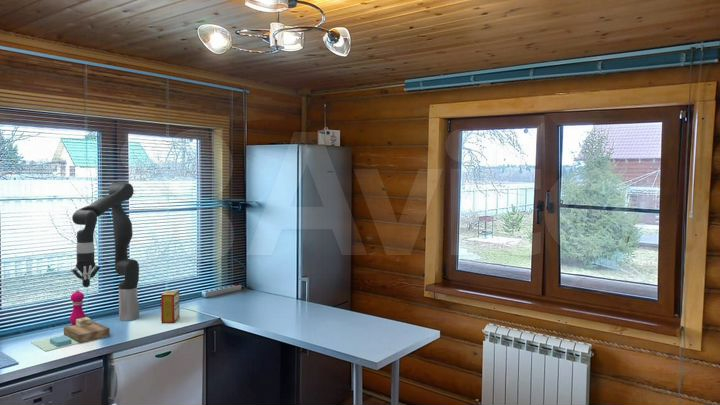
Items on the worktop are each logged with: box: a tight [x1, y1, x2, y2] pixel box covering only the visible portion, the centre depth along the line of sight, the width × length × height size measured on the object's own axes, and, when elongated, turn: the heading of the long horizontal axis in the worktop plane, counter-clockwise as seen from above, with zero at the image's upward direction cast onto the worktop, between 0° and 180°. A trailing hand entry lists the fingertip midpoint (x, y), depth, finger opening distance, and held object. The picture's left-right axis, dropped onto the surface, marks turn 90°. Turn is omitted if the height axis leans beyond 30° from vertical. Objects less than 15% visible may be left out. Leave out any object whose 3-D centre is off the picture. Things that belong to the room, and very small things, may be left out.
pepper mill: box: [69, 288, 87, 326], centre depth 254 cm, size 7×7×20 cm
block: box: [76, 316, 92, 327], centre depth 246 cm, size 5×5×3 cm
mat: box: [31, 334, 80, 352], centre depth 230 cm, size 14×18×1 cm
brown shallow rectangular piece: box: [63, 320, 111, 344], centre depth 241 cm, size 14×18×4 cm
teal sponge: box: [49, 334, 72, 347], centre depth 230 cm, size 6×9×2 cm, turn 51°
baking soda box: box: [160, 290, 181, 325], centre depth 267 cm, size 10×6×16 cm
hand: (86, 286), depth 237 cm, fingers closed
